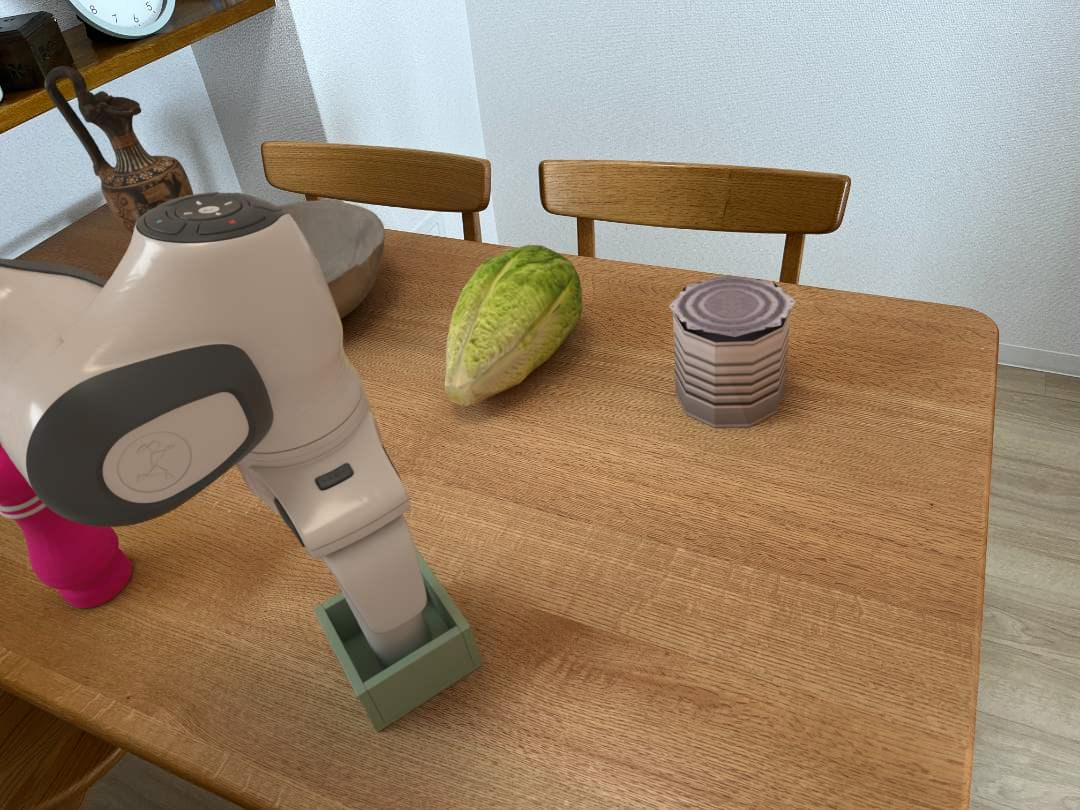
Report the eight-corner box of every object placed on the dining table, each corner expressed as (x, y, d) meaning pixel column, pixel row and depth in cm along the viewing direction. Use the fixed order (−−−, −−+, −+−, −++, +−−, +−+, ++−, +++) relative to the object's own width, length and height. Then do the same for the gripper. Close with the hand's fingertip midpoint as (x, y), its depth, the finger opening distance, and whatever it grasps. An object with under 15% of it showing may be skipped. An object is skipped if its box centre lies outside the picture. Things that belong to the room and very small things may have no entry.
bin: (377, 732, 62) (357, 696, 59) (332, 645, 69) (312, 608, 65) (483, 664, 66) (470, 626, 62) (431, 587, 72) (417, 548, 68)
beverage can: (432, 620, 69) (396, 530, 61) (436, 670, 65) (399, 581, 57) (376, 633, 69) (333, 544, 61) (377, 683, 65) (332, 596, 57)
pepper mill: (91, 548, 81) (-27, 401, 68) (152, 554, 80) (43, 404, 67) (45, 609, 76) (-92, 462, 63) (109, 617, 75) (-18, 467, 61)
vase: (207, 274, 121) (110, 72, 102) (128, 285, 122) (17, 86, 103) (228, 235, 130) (142, 42, 110) (154, 245, 131) (57, 56, 111)
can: (660, 417, 84) (655, 324, 77) (693, 352, 92) (691, 261, 84) (770, 439, 80) (777, 343, 72) (795, 369, 87) (804, 274, 79)
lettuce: (382, 367, 88) (450, 340, 77) (485, 245, 100) (555, 207, 89) (461, 447, 93) (534, 431, 82) (550, 321, 104) (624, 294, 94)
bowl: (299, 395, 96) (269, 327, 89) (155, 343, 109) (120, 280, 102) (437, 275, 112) (421, 210, 105) (298, 242, 125) (275, 182, 118)
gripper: (213, 379, 57) (278, 509, 66) (315, 563, 43) (380, 697, 52) (297, 342, 59) (349, 474, 68) (420, 507, 45) (464, 644, 54)
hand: (363, 572), depth 60 cm, fingers open, 8 cm apart
